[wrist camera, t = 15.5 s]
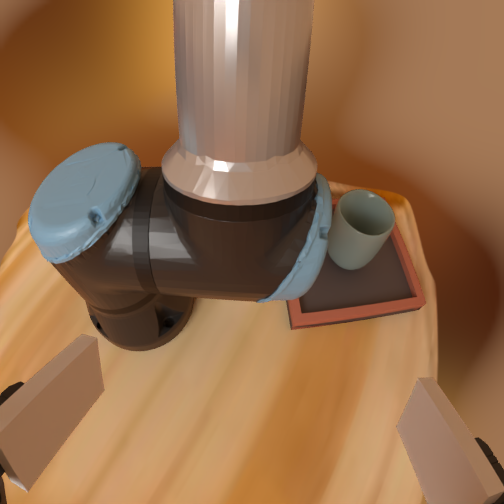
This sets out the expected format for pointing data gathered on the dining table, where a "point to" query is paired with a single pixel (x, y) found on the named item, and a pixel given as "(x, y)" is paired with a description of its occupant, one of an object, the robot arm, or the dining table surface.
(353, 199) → the cup
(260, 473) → the dining table surface
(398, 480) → the dining table surface
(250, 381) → the dining table surface
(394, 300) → the tray
